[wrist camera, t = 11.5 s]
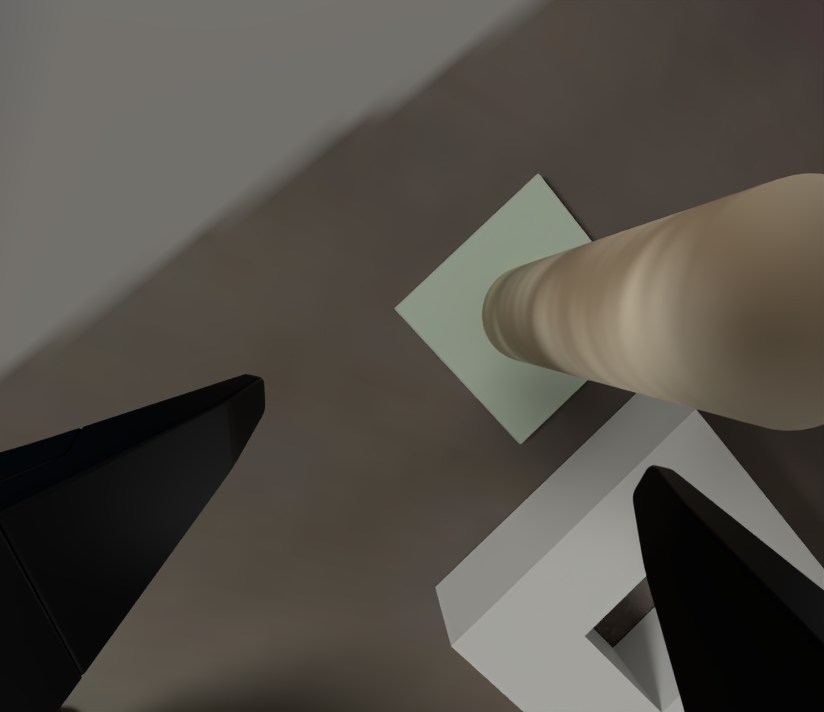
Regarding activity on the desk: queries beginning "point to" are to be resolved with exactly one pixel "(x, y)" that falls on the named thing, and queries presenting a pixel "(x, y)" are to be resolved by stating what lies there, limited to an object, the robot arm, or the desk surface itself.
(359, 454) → the desk surface
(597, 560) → the pocket block
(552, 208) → the green pad
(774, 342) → the wooden peg
